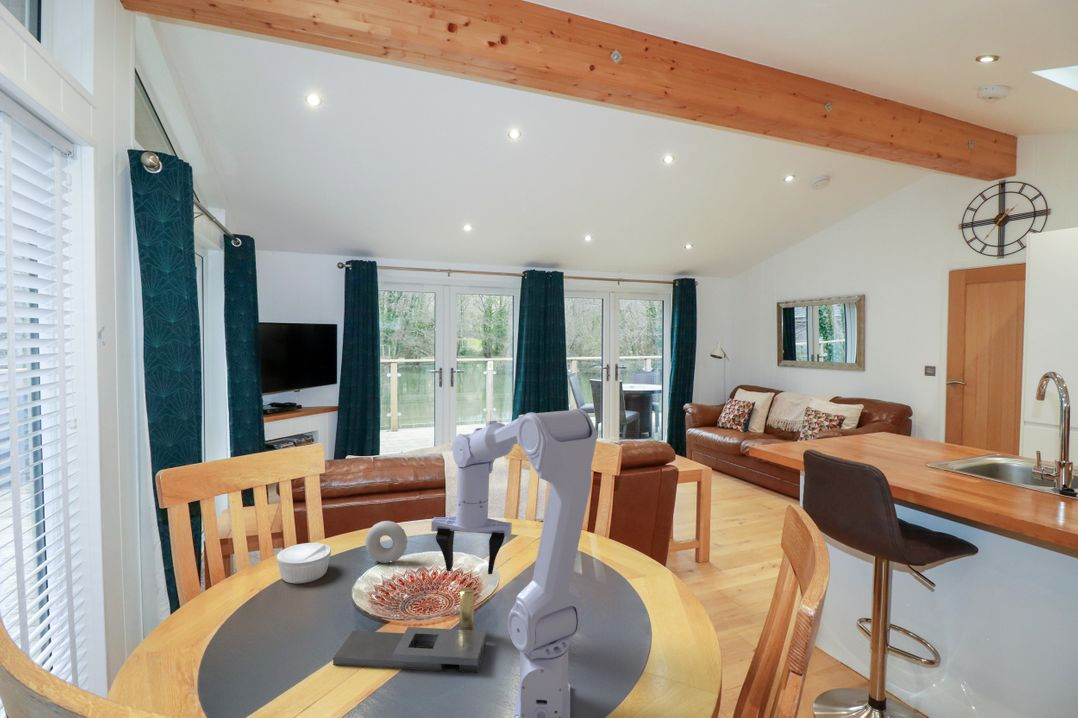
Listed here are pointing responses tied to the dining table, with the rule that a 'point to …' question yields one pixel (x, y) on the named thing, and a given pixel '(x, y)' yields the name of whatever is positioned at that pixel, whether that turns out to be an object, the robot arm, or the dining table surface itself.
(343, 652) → the link
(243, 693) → the dining table surface
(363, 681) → the dining table surface
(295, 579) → the ramekin
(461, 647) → the link
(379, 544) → the donut
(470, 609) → the pin
